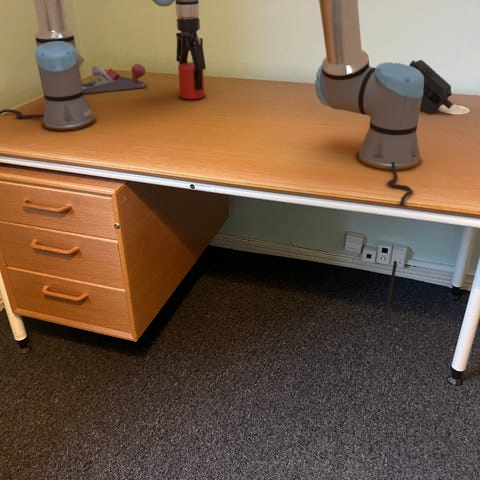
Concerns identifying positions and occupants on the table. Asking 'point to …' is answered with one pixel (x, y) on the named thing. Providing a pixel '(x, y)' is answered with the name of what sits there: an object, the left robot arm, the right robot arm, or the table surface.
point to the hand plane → (112, 79)
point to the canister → (189, 82)
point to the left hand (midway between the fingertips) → (191, 86)
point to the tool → (433, 88)
